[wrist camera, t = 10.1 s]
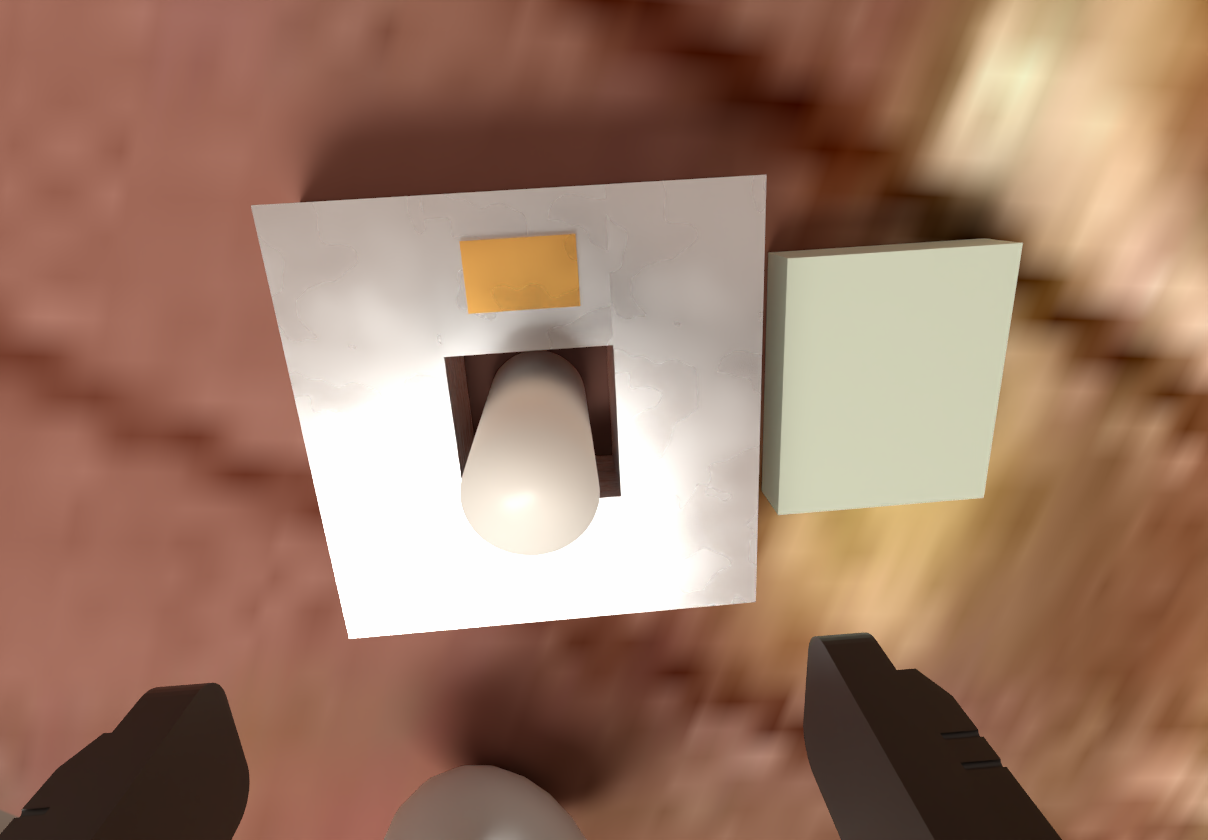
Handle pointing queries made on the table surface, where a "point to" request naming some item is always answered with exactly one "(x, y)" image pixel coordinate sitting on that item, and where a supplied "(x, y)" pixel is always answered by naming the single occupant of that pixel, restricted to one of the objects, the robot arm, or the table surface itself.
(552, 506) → the peg
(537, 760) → the table surface
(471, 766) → the donut
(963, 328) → the square base plate
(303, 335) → the flange
